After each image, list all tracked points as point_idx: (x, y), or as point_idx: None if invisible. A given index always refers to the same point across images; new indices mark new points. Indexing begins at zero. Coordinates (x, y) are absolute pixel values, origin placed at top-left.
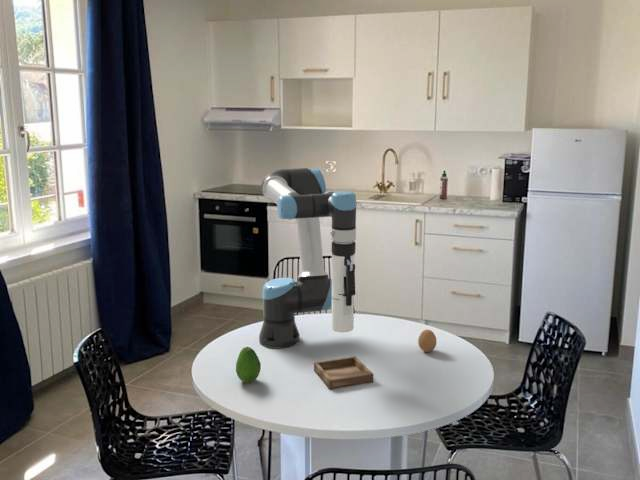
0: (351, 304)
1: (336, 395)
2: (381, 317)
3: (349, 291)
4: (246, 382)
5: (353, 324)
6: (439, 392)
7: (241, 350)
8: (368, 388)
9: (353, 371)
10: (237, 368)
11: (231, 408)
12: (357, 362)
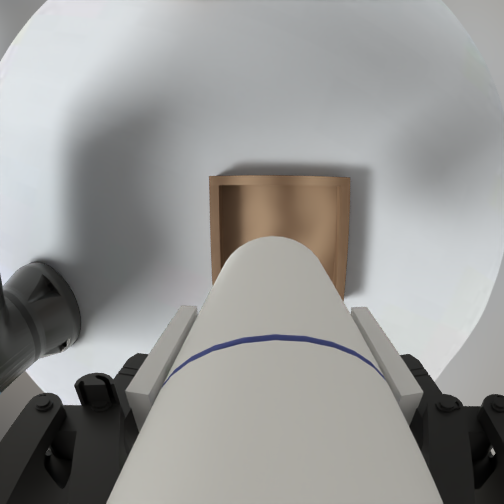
0: (390, 345)
1: (370, 294)
2: (9, 49)
3: (495, 461)
4: None
5: (301, 247)
6: (433, 65)
7: None
8: (369, 205)
9: (273, 206)
10: None
11: None
12: (249, 184)
